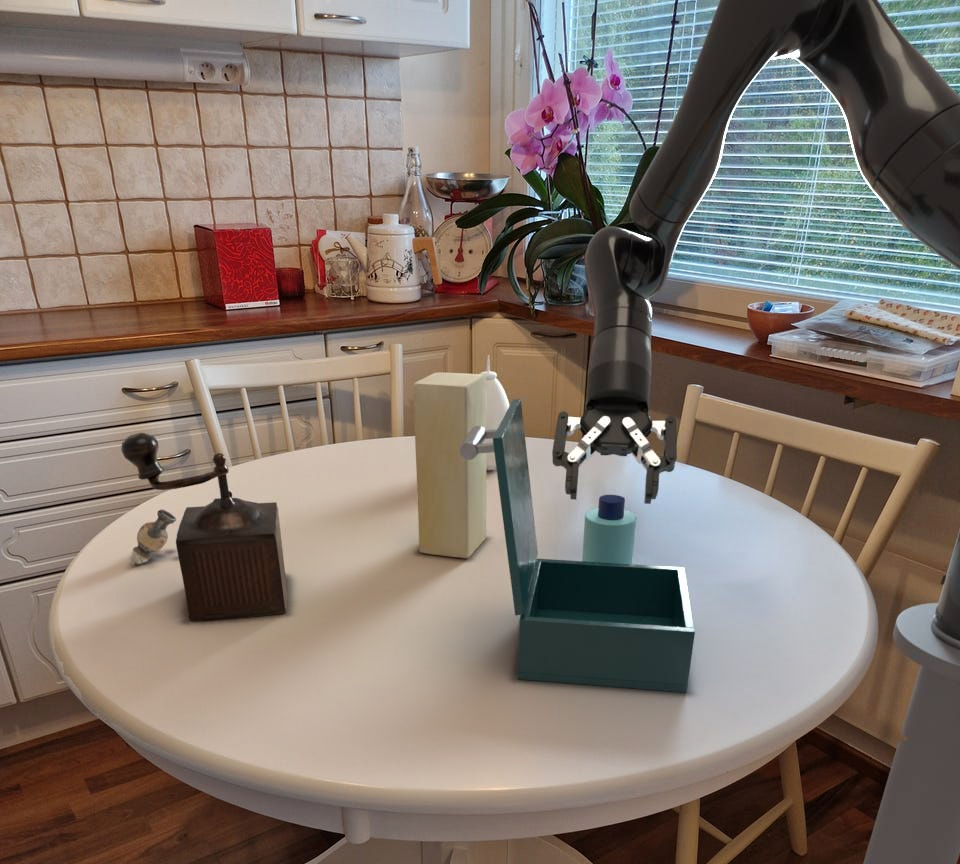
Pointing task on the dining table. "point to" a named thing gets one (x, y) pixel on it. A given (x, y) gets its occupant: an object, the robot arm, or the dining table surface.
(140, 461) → the manual coffee grinder
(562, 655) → the teal open box
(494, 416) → the sauce bottle
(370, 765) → the dining table surface
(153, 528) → the vase
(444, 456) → the toy refrigerator
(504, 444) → the teal box lid
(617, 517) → the water bottle
